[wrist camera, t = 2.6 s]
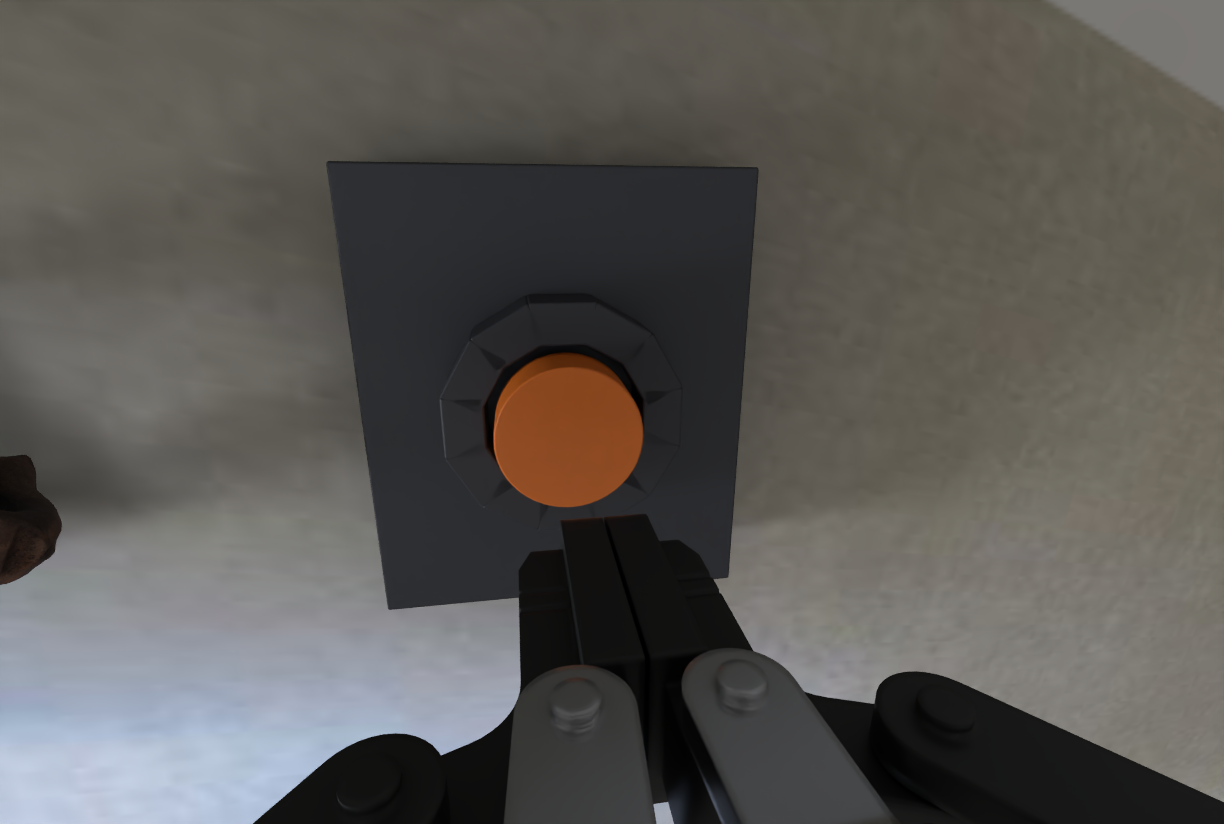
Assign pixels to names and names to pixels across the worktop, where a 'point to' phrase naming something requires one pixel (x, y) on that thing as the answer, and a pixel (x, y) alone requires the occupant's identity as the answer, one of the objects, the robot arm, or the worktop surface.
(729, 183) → the push button base
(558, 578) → the robot arm
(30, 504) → the broken clay vessel
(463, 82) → the worktop surface
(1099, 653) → the worktop surface
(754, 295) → the worktop surface
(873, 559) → the worktop surface
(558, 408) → the power button
